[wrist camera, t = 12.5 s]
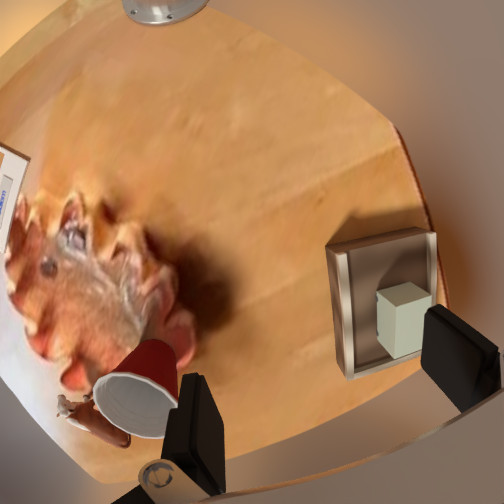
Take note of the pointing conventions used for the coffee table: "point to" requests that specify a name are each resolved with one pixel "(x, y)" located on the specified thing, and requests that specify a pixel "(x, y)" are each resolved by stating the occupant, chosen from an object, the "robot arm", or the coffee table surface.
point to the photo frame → (9, 191)
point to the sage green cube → (401, 318)
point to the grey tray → (374, 292)
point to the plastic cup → (140, 390)
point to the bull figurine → (92, 421)
